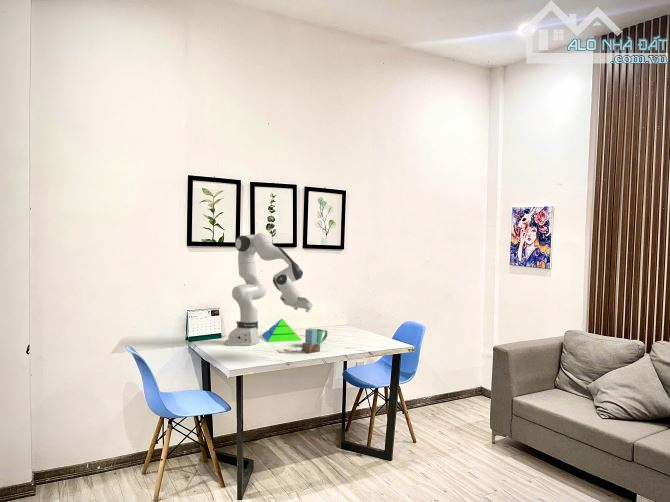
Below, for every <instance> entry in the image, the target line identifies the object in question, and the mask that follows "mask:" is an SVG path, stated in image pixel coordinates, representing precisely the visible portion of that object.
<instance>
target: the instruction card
mask: <svg viewBox="0 0 670 502" xmlns="http://www.w3.org/2000/svg"><path fill="white" fill-rule="evenodd" d="M276 351H277V352H278V353H288V352H289V353H293V352H296V349H294V348H292V347H289V348H281V349H280V348H279V349H276Z"/></svg>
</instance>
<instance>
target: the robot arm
mask: <svg viewBox="0 0 670 502" xmlns="http://www.w3.org/2000/svg"><path fill="white" fill-rule="evenodd" d="M234 244H235V249H236V251H237V252H238V253H237V265H238V275H239V276H240V278H241V279H243V280H244V282H245V284H238V285H236V286H234V287H233V288H232V289H231V290H232V291H231V295H232V296H231V297H232V299H233V300H234V301H236V303H237V304H238V307H239V313H240V315H239V317H240V318H239V319H240V320H237V321H236V322H235V323H236V327H235V328H234V329H233V330H231V331H230V332H229V334H228V337H227V339H225V340H224V344H225V345H226V346H253V345H256V344H259V343H260V339H259V333H258V331H259V330H258V329H259V321H258V309H257V307H255V306H254V304H253V301H254V300H260V299H261V298H263V297H265V296H266V293H267V291H266V290H267V289H266V287H265V285H264V284H263V283H262V282H261V281H260V279H259V277H258V274H257V266H256V259H255V254H257V255H258V257H259V258H260V259H261V260H263V261H267V262H269V261H270V262H271V261H273V260H280V259H281V260H283V261H284V262H285V263H286V264H287V265H288V266H287V267H286V268H283V269H282V270H281V271H278V272H276V274H274V275H273V278H272V283H273V285H274V287H276V289H277V290H278V291H279V292H280V293H281V295H280V297H279V299H280V300H281V302H282V303H283V304H284V305H286V306H289V307H291V308H293V309H294V311H297V310H298V309H302V310H303V309H304V310H305V312H306V313H310V311H311V309H312V307H313V304H312V302H311V300H310V299H308V298H306V297H304V296H301V292H300V291H299V289H298V288H297V287H295V282H296V281H298V280H300V279H302V278H303V275H304V272H303V269H302V267H301V266H300V265H299V264H298V263H296V262H295V260H293V258H291V256H289V254H288V253H287V252H286V251H285V250H284V249H283V248H282V247H280V246H275V245H274V244H273V242H272V241H271V240H270V239H269V237H268V236H267V235H266V234H264V233H262V232H258V233H256V234H247V235H239V236H237V237H236V238H235V242H234Z"/></svg>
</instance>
